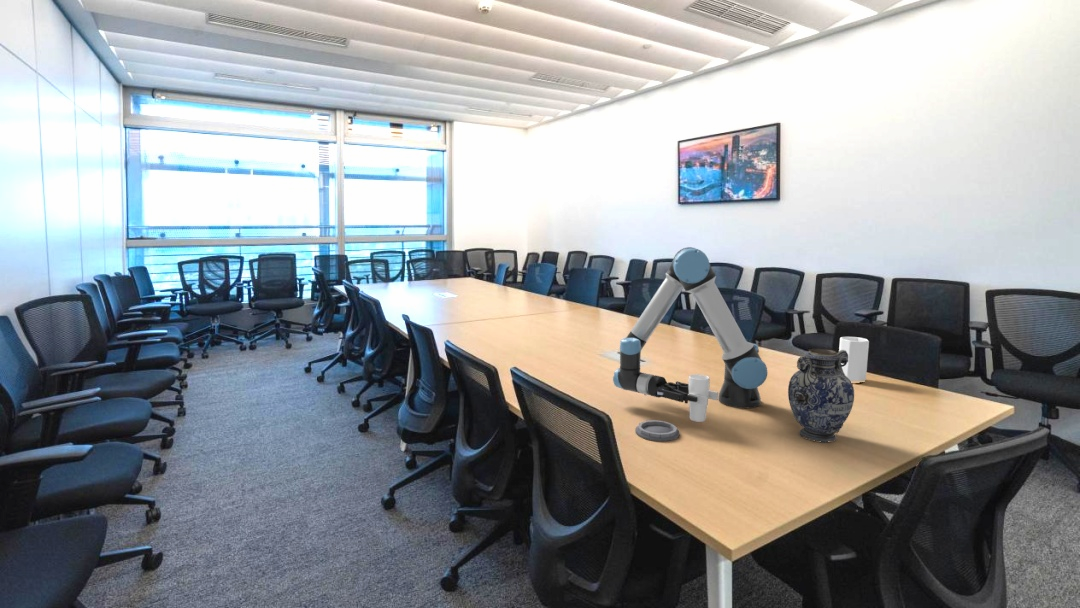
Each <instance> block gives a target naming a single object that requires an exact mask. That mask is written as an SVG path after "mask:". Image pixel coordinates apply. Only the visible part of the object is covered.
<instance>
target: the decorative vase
mask: <svg viewBox="0 0 1080 608" xmlns="http://www.w3.org/2000/svg"><path fill="white" fill-rule="evenodd" d="M847 362H848V354H847V352H846V351H844V350H840V351H839V350H838V352H837V351H836V350H832V349H826V348H825V349H824V348H812V349H811V348H810V349H809V350H808V352H806V353H805V355H802V356H800V357H798V359H797V361H796V367H797V369H798V370H797V371H796V372H794V373H793V375H792V376H791V377H790V379H789V382H788V388H787V397H788V402H789V403H788V404H789V406H790V410H791V412H792V415H793V417H794V418H795V420H796V421H797V423H798V424H799V425H800V426H802V428H800V430H799V432H798V435H799V436H800V435H801V436H800V437H802V438H803V437H804V438H803V439H805V438H807V439H806V440H808V439H810V440H809V441H811V440H815V441H814V442H816V441H821V442H820V443H825V442H826V443H829V442H828V441H833V442H835V441H836V440H837V436H836V434H838V433H839V432H840V430H841V429H842V427H843V426H844V423H845V422H846V420H848V418H849V416H850V414H851V412H852V409H853V406H854V400H855V389H854V385H853V383H851V381H850V380H849V379H848V378H847V377H846V376H845V374H844V372H843V369H842V367H843V366H845V365H846V364H847ZM841 363H842V364H843V365H841ZM835 439H836V440H835ZM834 440H835V441H834Z"/></svg>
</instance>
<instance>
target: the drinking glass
mask: <svg viewBox="0 0 1080 608" xmlns="http://www.w3.org/2000/svg"><path fill="white" fill-rule="evenodd" d="M710 380H711V379H710V377H709V376H708V375H706V374H700V373H699V374H696V373H695V374H690V375H689V376H688V383H687V384H688V390H689V393H692V394H697V395H701V396H706V397H708V395H709V390H710ZM688 405H689V407H688V409H689V414H688V415H689V419H690V420H691V421H692V422H698V423H702V422H705V421H706V419H707V409H708V405H702V404H698V403H694V402H690V401H688Z"/></svg>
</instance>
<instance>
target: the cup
mask: <svg viewBox="0 0 1080 608" xmlns="http://www.w3.org/2000/svg"><path fill="white" fill-rule="evenodd" d="M838 346H839V347H838V349H839V350H838V352H839V351H840V350H844V351H846V352H847V354H848V362H847V364H846V365H845V366H843V367H842V369H843V372H844V374H845V376H846V377H847V378H848V379H849V380H850V381H865V380H867V372H868V371H867V370H868V359H869V358H868V357H869V348H870V341H869V340H868V339H867V338H864V337H857V336H841V337H840V338H839V345H838ZM841 365H843V364H842V363H841Z"/></svg>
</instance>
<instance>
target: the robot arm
mask: <svg viewBox="0 0 1080 608" xmlns="http://www.w3.org/2000/svg"><path fill="white" fill-rule="evenodd" d="M670 263H671V264H670V265H669V268H668V269H667V271H666V272H665V279H664V280H663V281H662V283H661V284H660V286H659V287H658V288H657V290H656V292H655V293H654V294H653V296H652V298H651V300H650V301H649V303H648V304H647V306H646V307H645V309H644V310H643V312H641V315H640V316H639V318H638V319H637V321H636V322H635V323H634V325H633V327H632V328H631V330H630V331H629V333H628V334H627V336H626V337H625V338H622V339H621V340H620V343H619V344H620V345H619V368H617V369H616V370H615V371H614V373H613V377H612V382H613V384H614V386H615V387H616V388H619V389H622V390H625V391H630V392H634V393H639V394H643V395H644V396H650V397H654V398H658V399H659V398H664V399H669V400H671V401H672V400H673V401H676V402H679V403H684V404H689V401H690V402H694V403H698V404H702V405H707V406H709V399H710V400H713V401H718V402H719V403H721V404H723V405H725V406H728V407H732V408H740V409H752V408H758V407H759V406H760V405H761V400H762V399H761V396H760V392H759V387H761V386H762V385H764V383H765V382H766V379H767V377H768V367H767V364H766V363H765V362H764V361H763V360H762V358H761V356H760V354H759V353H760V350H759V345H758V344H756V343H753V342H749V341H747V339H746V338H745V336H744V334H743V333H742V330H741V328H740V327H739V325H738V323H737V322H736V319H735V318H734V316H733V314H732V312H731V310H730V308H729V307H728V305H727V303H726V301H725V299H724V298H723V296H722V294H721V292H720V290H719V288H718V286H717V285H716V283H715V281H716V278H717V275H716V274H715V271H714V269H713V267H712V266H711V263H710V259H709V258H708V256H707V254H706V253H705V252H704V251H702V250H701V249H699V248H696V247H691V246H687V247H684V248H681V249H680V250H678V251H677V252H676V253H675V255H674V256H673V259H672V261H671V262H670ZM683 289H684V291H685V292H686V293H689V294H692V297H693V298H694V300H695V302H696V304H697V305H698V307H699V309H700V310H701V313H702V314H703V316H704V319H705V320H706V322H707V324H708V325H709V327H710V329H711V331H712V333H713V335H714V337H715V339H716V340H717V342H718V344H719V347H721V350H722V351H723V353H722V356H721V359H722V360H723V362H724V374H723V375H724V378H723V379H724V380H723V383H722V385H721V388H720V390H719V392H718V391H714V390H710V389H709V395H708V397H706V396H701V395H697V394H692V393H689V390H688V384H689V383H685V382H681V381H675V383H674V382H669V381H668V382H667V380H666V378H665V377H663V376H662V375H654V374H651V373H647V372H642V371H641V354H642V353H641V352H642V350H643V348H644V347H645V346H646V344H647V342H648V341H649V339H650V337H651V336H652V335H653V333H654V331H656V329H657V327H658V326H659V324H660V323H661V321H662V320H663V319H664V318H665V316H666V314H667V313H668V311H669V310H670V308H671V307H672V305H673V304H674V302H675V301H676V299H677V298H678V296H679V295H680V294H681V292H682V291H683Z"/></svg>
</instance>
